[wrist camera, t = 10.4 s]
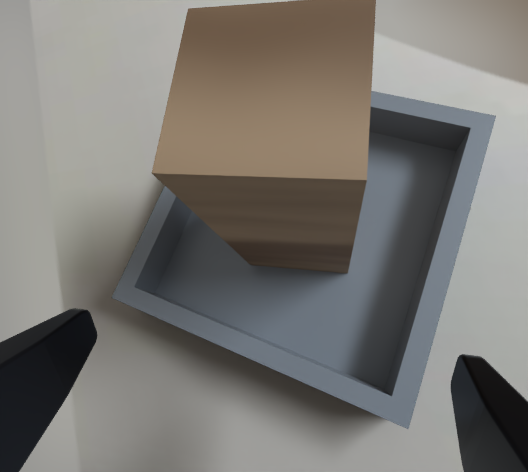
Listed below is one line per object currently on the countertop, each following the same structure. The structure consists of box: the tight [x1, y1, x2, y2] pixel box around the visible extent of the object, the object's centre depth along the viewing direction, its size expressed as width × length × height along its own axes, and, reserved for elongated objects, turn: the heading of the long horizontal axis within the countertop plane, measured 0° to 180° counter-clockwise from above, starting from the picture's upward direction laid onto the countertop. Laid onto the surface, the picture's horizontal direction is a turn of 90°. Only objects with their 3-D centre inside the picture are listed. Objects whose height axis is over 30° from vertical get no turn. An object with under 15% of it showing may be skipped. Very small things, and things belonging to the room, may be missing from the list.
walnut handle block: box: [152, 0, 376, 273], centre depth 13 cm, size 5×5×10 cm
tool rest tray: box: [112, 91, 496, 429], centre depth 17 cm, size 13×13×3 cm
